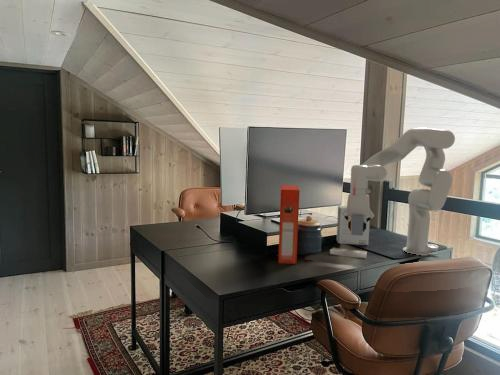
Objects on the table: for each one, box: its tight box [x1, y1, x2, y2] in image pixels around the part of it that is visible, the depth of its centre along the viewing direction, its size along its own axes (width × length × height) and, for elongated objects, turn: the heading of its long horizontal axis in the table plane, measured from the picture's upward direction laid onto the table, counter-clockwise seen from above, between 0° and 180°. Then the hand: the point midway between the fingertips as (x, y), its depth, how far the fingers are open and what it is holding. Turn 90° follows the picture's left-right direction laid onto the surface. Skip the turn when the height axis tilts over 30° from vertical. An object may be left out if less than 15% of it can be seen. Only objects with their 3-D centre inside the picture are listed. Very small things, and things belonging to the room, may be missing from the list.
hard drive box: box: [336, 205, 372, 246], centre depth 202 cm, size 16×8×20 cm, turn 84°
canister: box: [297, 215, 323, 256], centre depth 187 cm, size 13×13×18 cm
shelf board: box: [329, 247, 368, 259], centre depth 183 cm, size 16×12×4 cm
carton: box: [351, 215, 364, 236], centre depth 183 cm, size 5×7×9 cm
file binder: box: [278, 184, 300, 265], centre depth 176 cm, size 8×17×32 cm, turn 176°
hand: (357, 230), depth 183 cm, fingers closed on carton, 5 cm apart
